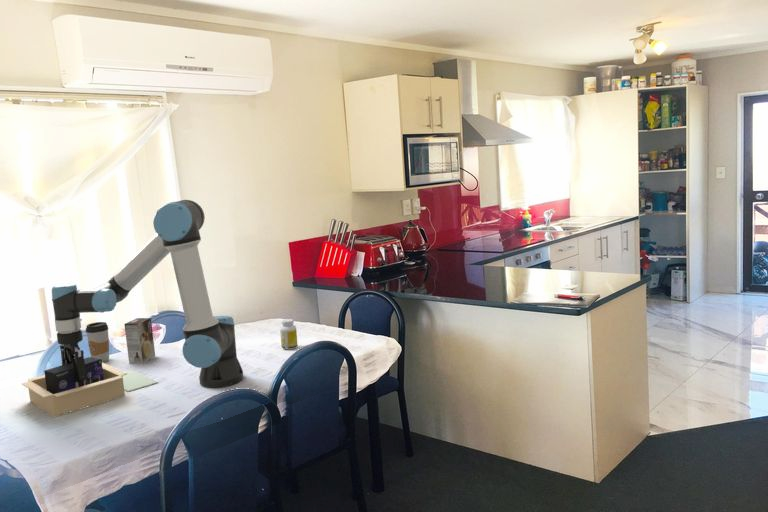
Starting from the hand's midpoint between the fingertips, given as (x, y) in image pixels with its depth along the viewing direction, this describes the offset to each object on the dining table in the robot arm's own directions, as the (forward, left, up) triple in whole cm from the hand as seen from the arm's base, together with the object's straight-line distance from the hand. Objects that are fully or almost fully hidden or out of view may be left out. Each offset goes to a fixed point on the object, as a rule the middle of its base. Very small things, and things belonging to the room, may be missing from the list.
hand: (77, 396), depth 216 cm
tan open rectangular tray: (0, 0, -1) cm, 1 cm away
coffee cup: (+36, -23, -1) cm, 43 cm away
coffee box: (+23, -34, -1) cm, 41 cm away
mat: (+2, -19, -1) cm, 19 cm away
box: (0, 0, -1) cm, 1 cm away
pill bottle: (-14, -79, -1) cm, 80 cm away
